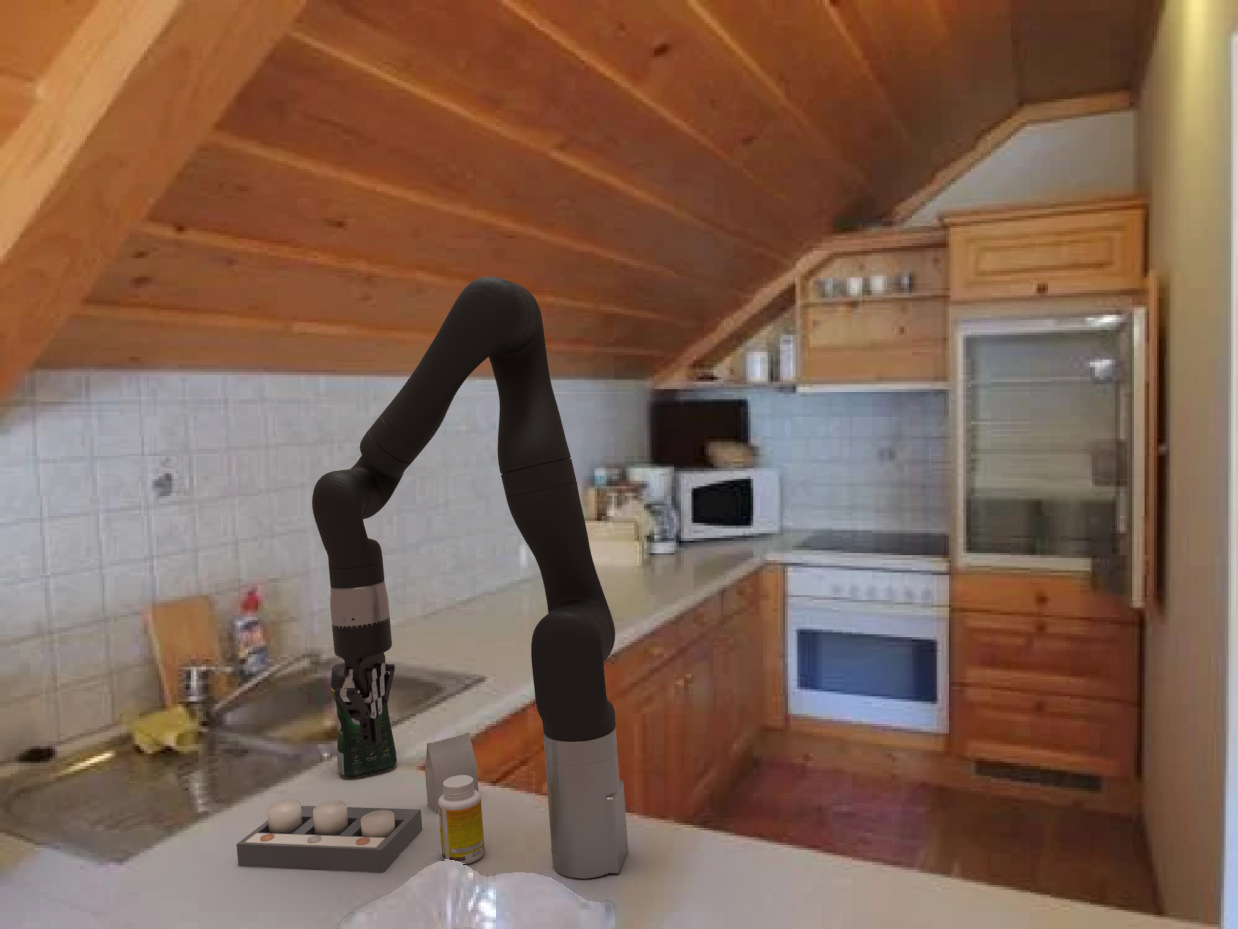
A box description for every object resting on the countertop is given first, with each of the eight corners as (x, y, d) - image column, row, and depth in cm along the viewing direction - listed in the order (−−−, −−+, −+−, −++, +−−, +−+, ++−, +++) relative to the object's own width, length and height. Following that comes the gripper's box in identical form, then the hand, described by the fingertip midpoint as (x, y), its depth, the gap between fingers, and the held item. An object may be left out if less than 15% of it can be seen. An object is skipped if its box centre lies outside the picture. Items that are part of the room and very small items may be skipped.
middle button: (354, 822, 126) (352, 801, 126) (338, 837, 121) (336, 815, 121) (325, 821, 127) (323, 800, 127) (308, 836, 122) (306, 814, 122)
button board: (422, 830, 128) (420, 807, 128) (383, 872, 116) (381, 847, 116) (289, 825, 132) (287, 803, 132) (238, 866, 121) (236, 842, 120)
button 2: (401, 832, 124) (399, 810, 124) (386, 847, 120) (384, 825, 120) (371, 830, 125) (370, 809, 125) (356, 845, 121) (354, 824, 121)
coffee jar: (392, 756, 158) (384, 651, 157) (400, 771, 151) (392, 661, 150) (334, 768, 154) (326, 660, 153) (340, 783, 147) (331, 671, 146)
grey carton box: (479, 800, 137) (474, 736, 136) (437, 814, 133) (432, 747, 133) (468, 793, 140) (464, 730, 139) (427, 806, 136) (422, 741, 136)
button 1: (308, 820, 127) (306, 800, 127) (291, 835, 123) (289, 813, 123) (280, 820, 128) (278, 799, 128) (262, 834, 124) (260, 812, 124)
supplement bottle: (493, 854, 119) (488, 778, 119) (459, 871, 115) (453, 793, 115) (467, 843, 123) (462, 769, 123) (433, 859, 119) (427, 783, 118)
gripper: (362, 628, 114) (374, 763, 115) (408, 606, 127) (418, 727, 128) (308, 629, 115) (320, 762, 116) (359, 607, 128) (369, 727, 129)
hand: (371, 744), depth 122 cm, fingers closed
